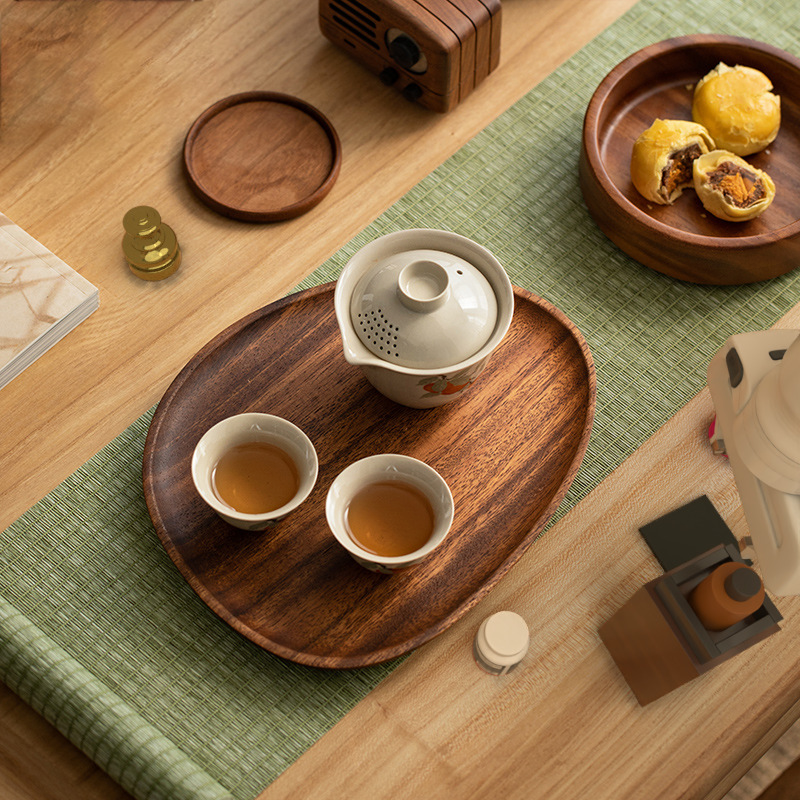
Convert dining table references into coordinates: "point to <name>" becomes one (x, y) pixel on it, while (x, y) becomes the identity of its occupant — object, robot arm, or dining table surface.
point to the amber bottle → (727, 596)
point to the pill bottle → (501, 643)
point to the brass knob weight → (149, 244)
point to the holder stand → (678, 630)
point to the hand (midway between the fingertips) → (733, 497)
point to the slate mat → (687, 533)
